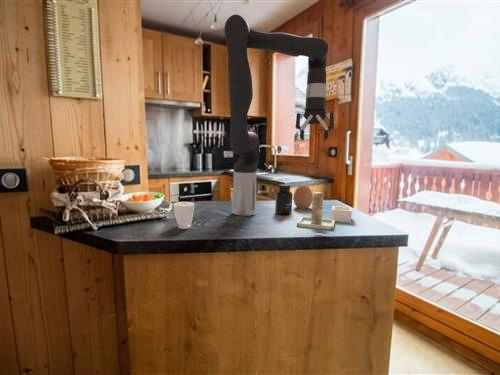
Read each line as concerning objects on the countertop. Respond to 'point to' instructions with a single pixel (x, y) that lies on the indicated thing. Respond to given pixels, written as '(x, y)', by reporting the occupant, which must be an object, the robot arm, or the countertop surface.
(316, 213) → the dowel
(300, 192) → the egg
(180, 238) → the countertop surface
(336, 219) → the holder cup
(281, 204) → the supplement bottle
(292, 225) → the countertop surface
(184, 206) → the cup
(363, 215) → the countertop surface
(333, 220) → the tray
